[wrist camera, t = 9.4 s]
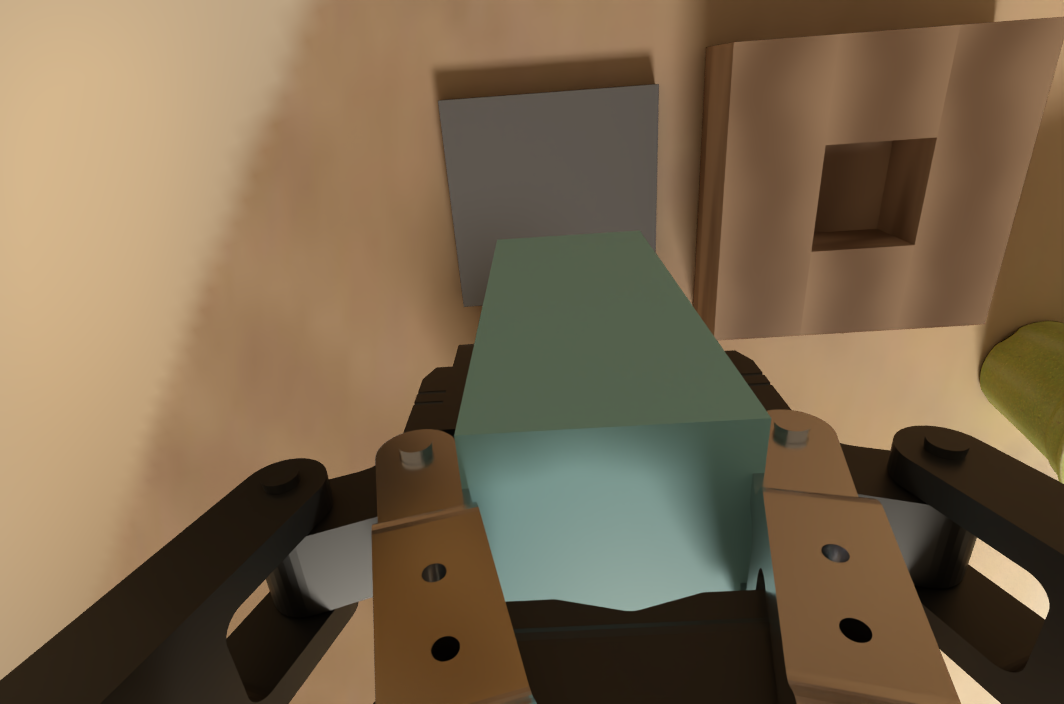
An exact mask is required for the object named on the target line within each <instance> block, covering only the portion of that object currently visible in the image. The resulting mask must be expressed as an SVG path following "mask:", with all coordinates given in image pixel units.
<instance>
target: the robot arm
mask: <svg viewBox="0 0 1064 704" xmlns="http://www.w3.org/2000/svg"><path fill="white" fill-rule="evenodd" d="M473 348H474V344H468V345H459V346H458V350H457V353H456V357H455V361H454V364H453V367H439V368H435V369H434V370H433V371H432V372H431V373H430V374H428V375H427V376H426V377H425V378H424V379H423V380H422V383H421V386H420V389H419V391H418V394H417V397H416V400H415V405H413V408H412V411H411V413H410V416H409V419H408V422H407V424H406V427H405V430H404V433H403V434H400V435H398V436H395V437H393V438H392V439H390V440H388V441H387V442H386V443H384V444H383V445H382V446H381V447H380V448H379V450H378V451H377V454H376V458H375V466H373V467H371V468H369V469H366V470H363V471H360V472H357V473H353V474H349V475H345V476H341V477H337V478H333V479H328V475H327V471H326V468H325V467H324V465H323V464H321V463H320V462H318V461H316V460H312V459H305V458H297V459H289V460H284V461H280V462H277V463H274V464H271V465H268V466H266V467H264V468H262V469H260V470H258V471H257V472H255V473H253V474H252V475H251V476H249V477H248V478H247V479H246V480H244V481H243V482H242V483H241V484H239V485H238V486H237V487H236V488H235V489H233V490H232V491H231V492H230V493H229V494H227V495H226V496H225V497H224V498H222V499H221V500H220V501H219V502H218V503H216V504H215V505H214V506H213V507H211V508H210V509H209V510H208V511H207V512H205V513H204V514H203V515H202V516H200V517H199V518H198V519H197V520H196V521H194V522H193V523H192V524H191V525H189V526H188V527H187V528H186V529H185V530H183V531H182V532H181V533H180V534H178V535H177V536H176V537H175V538H174V539H172V540H171V541H170V542H169V543H167V544H166V545H165V546H164V547H163V548H161V549H160V550H159V551H158V552H157V553H155V554H154V555H153V556H152V557H150V558H149V559H148V560H147V561H146V562H144V563H143V564H142V565H141V566H139V567H138V568H137V569H136V570H135V571H133V572H132V573H131V574H130V575H128V576H127V577H126V578H125V579H124V580H122V581H121V582H120V583H119V584H117V585H116V586H115V587H114V588H113V589H111V590H110V591H109V592H108V593H106V594H105V595H104V596H103V597H102V598H100V599H99V600H98V601H97V602H96V603H94V604H93V605H92V606H91V607H89V608H88V609H87V610H86V611H85V612H83V613H82V614H81V615H80V616H78V617H77V618H76V619H75V620H74V621H72V622H71V623H70V624H69V625H67V626H66V627H65V628H64V629H63V630H61V631H60V632H59V633H58V634H56V635H55V636H54V637H53V638H52V639H50V640H49V641H48V642H47V643H45V644H44V645H43V646H42V647H41V648H40V649H38V650H37V651H36V652H34V654H32V655H31V656H30V657H28V658H27V659H26V660H25V661H24V662H22V663H21V664H20V665H19V666H17V667H16V668H15V669H14V670H13V671H11V672H10V673H9V674H8V675H6V676H5V677H4V678H3V679H2V680H0V704H289V702H290V701H291V700H292V698H293V697H294V696H295V694H296V693H297V691H298V690H299V689H300V687H301V686H302V685H303V683H304V682H305V680H306V679H307V678H308V676H309V675H310V674H311V672H312V671H313V669H314V668H315V667H316V665H317V664H318V663H319V661H320V660H321V658H322V657H323V656H324V654H325V653H326V652H327V650H328V649H329V647H330V646H331V645H332V643H333V642H334V641H335V639H336V638H337V636H338V635H339V634H340V632H341V631H342V630H343V628H344V627H345V625H346V624H347V623H348V621H349V620H350V619H351V617H352V616H353V614H354V612H355V611H356V608H357V606H358V602H359V601H362V600H365V599H368V598H371V597H373V623H374V666H375V702H374V703H373V704H961V702H960V700H959V697H958V695H957V692H956V690H955V687H954V685H953V682H952V680H951V677H950V675H949V672H948V670H947V667H946V664H945V662H944V659H943V657H942V654H941V652H940V650H941V651H942V652H944V653H945V654H946V655H947V656H948V657H949V658H950V659H951V660H953V661H954V662H955V663H956V664H957V665H958V666H959V667H960V668H962V669H963V670H964V671H965V672H966V673H967V674H968V675H969V676H971V677H972V678H973V679H974V680H975V681H976V682H977V683H978V684H980V685H981V686H982V687H983V688H984V689H985V690H986V691H987V692H989V693H990V694H991V695H992V696H993V697H994V698H995V699H996V700H998V701H999V702H1000V703H1001V704H1064V484H1063V483H1061V482H1059V481H1057V480H1055V479H1053V478H1051V477H1049V476H1047V475H1045V474H1044V473H1042V472H1040V471H1038V470H1036V469H1034V468H1032V467H1030V466H1028V465H1026V464H1024V463H1022V462H1021V461H1019V460H1017V459H1015V458H1013V457H1011V456H1009V455H1007V454H1005V453H1003V452H1001V451H999V450H997V449H996V448H994V447H992V446H990V445H988V444H986V443H984V442H982V441H980V440H978V439H976V438H974V437H972V436H970V435H967V434H964V433H962V432H959V431H955V430H952V429H947V428H942V427H936V426H911V427H907V428H904V429H901V430H900V431H898V432H897V433H896V434H895V435H894V438H893V442H892V446H891V451H889V450H881V449H873V448H865V447H858V446H851V445H846V444H842V443H839V440H838V437H837V434H836V432H835V430H834V429H833V428H832V427H831V426H830V425H829V424H828V423H826V422H825V421H823V420H821V419H819V418H817V417H815V416H813V415H810V414H807V413H803V412H799V411H793V410H791V409H790V407H789V406H788V405H787V404H786V402H785V401H784V400H783V398H782V397H781V396H780V395H779V393H778V392H777V391H776V389H775V388H774V387H773V386H772V385H770V382H769V380H768V379H767V378H766V377H765V375H762V371H761V370H760V369H759V368H758V366H757V365H756V364H755V362H754V361H753V360H751V359H750V358H748V357H746V356H744V355H742V354H741V353H739V352H737V351H735V350H734V351H725V353H726V354H727V356H728V357H729V358H730V360H731V361H732V363H733V364H734V365H735V367H736V368H737V370H738V371H739V373H740V374H741V375H742V377H743V378H744V380H745V381H746V383H747V384H748V385H749V387H750V388H751V390H752V391H753V393H754V394H755V395H756V397H757V398H758V400H759V401H760V403H761V404H762V405H763V407H764V408H765V410H766V411H767V412H768V414H769V415H770V417H771V426H770V434H769V442H768V450H767V458H766V466H765V473H753V475H752V484H751V493H750V510H751V521H752V542H751V555H750V563H749V572H748V580H747V583H740V590H739V591H719V592H702V593H699V594H695V595H691V596H688V597H684V598H681V599H677V600H673V601H670V602H666V603H663V604H659V605H655V606H652V607H648V608H645V609H641V610H636V611H623V610H617V609H611V608H605V607H599V606H593V605H587V604H581V603H575V602H569V601H563V600H557V599H549V600H528V601H507V602H505V599H504V595H503V592H502V588H501V585H500V581H499V577H498V574H497V570H496V567H495V563H494V560H493V556H492V553H491V549H490V546H489V542H488V538H487V535H486V531H485V528H484V524H483V521H482V517H481V514H480V510H479V507H478V504H477V502H472V498H471V494H470V491H469V488H468V489H462V487H461V480H460V473H459V466H458V459H457V452H456V445H455V438H454V434H455V429H456V425H457V420H458V416H459V411H460V407H461V402H462V398H463V393H464V388H465V384H466V379H467V375H468V370H469V366H470V361H471V357H472V352H473ZM976 538H979V539H980V540H982V541H983V542H985V543H986V544H988V545H989V546H991V547H992V548H994V549H995V550H997V551H998V552H1000V553H1001V554H1003V555H1004V556H1006V557H1007V558H1009V559H1010V560H1012V561H1013V562H1015V563H1016V564H1018V565H1019V566H1021V567H1022V568H1024V569H1025V570H1027V571H1028V572H1029V573H1031V574H1032V575H1033V576H1034V577H1035V578H1036V579H1037V580H1038V581H1039V582H1040V583H1041V585H1042V586H1043V588H1044V589H1045V591H1046V593H1047V596H1048V599H1049V603H1050V609H1049V612H1048V615H1047V617H1046V619H1043V618H1042V617H1041V616H1039V615H1038V614H1036V613H1035V612H1034V611H1032V610H1031V609H1029V608H1028V607H1027V606H1025V605H1024V604H1022V603H1021V602H1020V601H1018V600H1017V599H1016V598H1014V597H1013V596H1011V595H1010V594H1009V593H1007V592H1006V591H1004V590H1003V589H1002V588H1000V587H999V586H998V585H996V584H995V583H993V582H992V581H991V580H989V579H988V578H986V577H985V576H984V575H982V574H981V573H979V572H978V571H977V570H975V569H974V568H973V567H971V566H970V565H968V563H969V560H970V557H971V554H972V551H973V548H974V545H975V541H976ZM265 579H266V581H267V584H268V587H269V590H270V592H269V593H268V594H267V595H266V596H265V597H264V599H263V600H262V601H261V602H260V603H259V604H258V605H257V606H256V607H255V608H254V609H253V611H252V612H251V613H250V614H249V615H248V616H247V617H246V618H245V619H244V620H243V621H242V623H241V624H240V625H239V626H238V627H237V628H236V629H235V630H234V631H233V632H232V633H231V635H230V636H229V637H228V638H227V639H226V634H227V629H228V626H229V623H230V621H231V619H232V617H233V615H234V613H235V612H236V610H237V609H238V608H239V607H240V605H241V604H242V603H243V602H244V601H245V600H246V599H247V598H248V597H249V596H250V595H251V594H252V593H253V592H254V591H255V590H256V589H257V588H258V586H259V585H260V584H261V583H262V582H263V581H264V580H265Z"/></svg>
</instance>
